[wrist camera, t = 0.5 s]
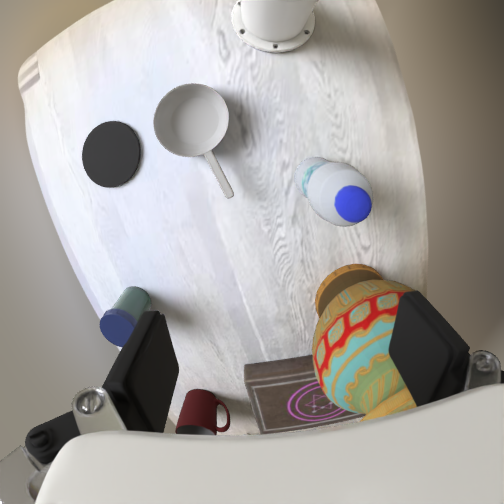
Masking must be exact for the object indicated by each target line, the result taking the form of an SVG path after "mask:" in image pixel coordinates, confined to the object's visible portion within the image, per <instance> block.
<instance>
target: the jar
mask: <svg viewBox="0 0 504 504" xmlns="http://www.w3.org/2000/svg"><path fill="white" fill-rule="evenodd" d="M150 307H151V299H150V297H149V295H148V294H147V293H146V292H145V291H144V290H143V289H141V288H139V287H128V288H126V289H125V290H124V292H123V293H122V294H121V296H120V297H119V299H118V300H117V301H116V303H115V304H114V306H113V307H112V309H121V310H124V311H126V312H128V313H129V314H131V315H132V316H133V317H134V318H135V319H136V321H137V322H138V321H139V319H140V317H141V315H142V314H143V312H144V311H149V309H150Z"/></svg>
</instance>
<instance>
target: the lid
mask: <svg viewBox="0 0 504 504" xmlns="http://www.w3.org/2000/svg"><path fill="white" fill-rule="evenodd" d="M137 323H138V322H137V321H136V319H135V318H134V317H133V316H132V315H131V314H129V313H128V312H126V311H124V310H121V309H110V310H108V311H106V312H105V314H104V315H103V317H102V318H101V320H100V329H101V332H102V334H103V335H104V336H105V338H106V339H107V340H108V341H110V342H111V343H113V344H114V345H116V346H119V347H123V346H124V344H125V343H127V341H128V339H129V337H130V335H131V333H132V332H133V330H134V328H135V326H136V324H137Z"/></svg>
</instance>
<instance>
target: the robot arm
mask: <svg viewBox="0 0 504 504" xmlns="http://www.w3.org/2000/svg"><path fill="white" fill-rule="evenodd" d="M317 1H318V0H238V1H237V2H236V4H235V6H234V8H233V11H232V17H231V19H232V25H233V28H234V30H235V32H236V34H237V35H238V36H239V38H240V39H241V40H242V41H244V42H245V43H246V44H248V45H249V46H251V47H253V48H256V49H258V50H261V51H266V52H286V51H290V50H293V49H295V48H298V47H300V46H301V45H302V44H304V43H305V42H306V41H307V40H308V39H309V38H310V36H311V35H312V33H313V30H314V27H315V16H314V13H313V9H314V7H315V5H316V3H317ZM240 5H241V6H240ZM242 32H243V33H244V34H241V33H242ZM305 33H307V35H306V34H305ZM274 47H277V49H275V48H274ZM469 349H470V347H469V346H468V345H467V344H466V342H465V341H464V340H463V339H462V338H461V337H460V336H459V335H458V333H457V332H456V331H455V330H454V329H453V328H452V326H450V324H449V323H448V322H447V321H446V320H445V319H444V318H443V317H442V315H441V314H440V313H439V312H438V311H437V310H436V309H435V308H434V307H433V306H432V305H431V304H430V303H429V301H428V300H427V299H426V298H425V297H424V296H423V295H422V294H421V293H420V292H419V291H409V292H405V293H404V294H403V296H401V297H400V299H399V304H398V309H397V314H396V318H395V323H394V327H393V332H392V336H391V340H390V344H389V349H388V351H389V355H390V357H391V359H392V361H393V363H394V364H395V366H396V368H397V370H398V372H399V373H400V375H401V377H402V379H403V381H404V383H405V385H406V386H407V388H408V390H409V392H410V394H411V396H412V398H413V400H414V402H415V404H416V406H417V407H416V408H412V409H409V410H406V411H402V412H398V413H395V414H391V415H387V416H383V417H379V418H374V419H370V420H365V421H361V422H356V423H351V424H345V425H340V426H334V427H327V428H321V429H313V430H306V431H297V432H287V433H275V434H259V435H186V434H169V433H163V432H164V428H165V424H166V420H167V416H168V412H169V408H170V404H171V400H172V396H173V393H174V389H175V385H176V381H177V378H178V374H179V366H178V362H177V359H176V355H175V352H174V348H173V345H172V341H171V338H170V334H169V330H168V327H167V323H166V319H165V316H164V315H163V314H160V312H159V311H144V312H143V314H142V315H141V317H140V319H139V321H138V323H137V324H136V326H135V328H134V330H133V332H132V333H131V335H130V337H129V339H128V341H127V343H125V344H124V346H123V348H122V349H121V351H120V353H119V355H118V357H117V359H116V361H115V363H114V365H113V366H112V368H111V370H110V372H109V374H108V376H107V378H106V380H105V382H104V384H103V386H102V388H100V387H88V388H85V389H83V390H81V391H80V392H78V393H77V394H76V395H75V397H74V398H73V401H72V411H70V412H68V413H66V414H63V415H61V416H59V417H57V418H55V419H52V420H50V421H48V422H45V423H43V424H41V425H38V426H36V427H34V428H33V429H32V430H31V431H30V432H29V433H28V435H27V437H26V441H25V445H26V446H25V447H24V448H23V447H22V446H19V447H18V448H16V449H15V450H14V451H12V452H11V453H10V454H9V455H7V456H6V457H5V458H4V459H2V460H1V461H0V504H504V371H502V370H501V365H500V361H499V360H498V358H497V357H496V356H495V355H493V354H492V353H490V352H488V351H483V350H479V351H476V352H473V353H472V354H471V355H470V354H469V353H468V351H469Z"/></svg>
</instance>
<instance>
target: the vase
mask: <svg viewBox="0 0 504 504" xmlns="http://www.w3.org/2000/svg"><path fill="white" fill-rule="evenodd" d="M409 291H415V290H414V289H412V288H410V287H408V286H406V285H403V284H401V283H398V282H395V281H388V280H383V278H382V277H381V276H380V274H379V273H378V272H377V271H375V270H374V269H373V268H372V267H369V266H366V265H363V264H352V265H346V266H344V267H341V268H339V269H337V270H335V271H334V272H332V273H331V274H330V275H328V276H327V278H326V279H325V280H324V281H323V282H322V283H321V285H320V287H319V289H318V291H317V294H316V299H315V305H316V310H317V313H318V316H319V318H320V319H319V321H318V323H317V326H316V330H315V333H314V337H313V346H312V354H313V365H314V370H315V375H316V378H317V380H318V383H319V385H320V387H321V389H322V391H323V392H324V394H325V395H326V396H327V398H328V399H329V400H330V401H332V402H333V403H334V404H335V405H337V406H338V407H340V408H341V409H344V410H347V411H350V412H354V413H362V414H366V416H365V417H364V418H363V419H362V420H361V421H365V420H370V419H374V418H379V417H383V416H387V415H391V414H395V413H398V412H402V411H406V410H409V409H412V408H416V407H417V406H416V404H415V402H414V400H413V398H412V396H411V394H410V392H409V390H408V388H407V386H406V385H405V383H404V381H403V379H402V377H401V375H400V373H399V372H398V370H397V368H396V366H395V364H394V363H393V361H392V359H391V357H390V355H389V351H388V349H389V344H390V340H391V336H392V332H393V327H394V323H395V318H396V314H397V309H398V304H399V299H400V297H401V296H403V294H404V293H405V292H409ZM361 421H360V422H361Z"/></svg>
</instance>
